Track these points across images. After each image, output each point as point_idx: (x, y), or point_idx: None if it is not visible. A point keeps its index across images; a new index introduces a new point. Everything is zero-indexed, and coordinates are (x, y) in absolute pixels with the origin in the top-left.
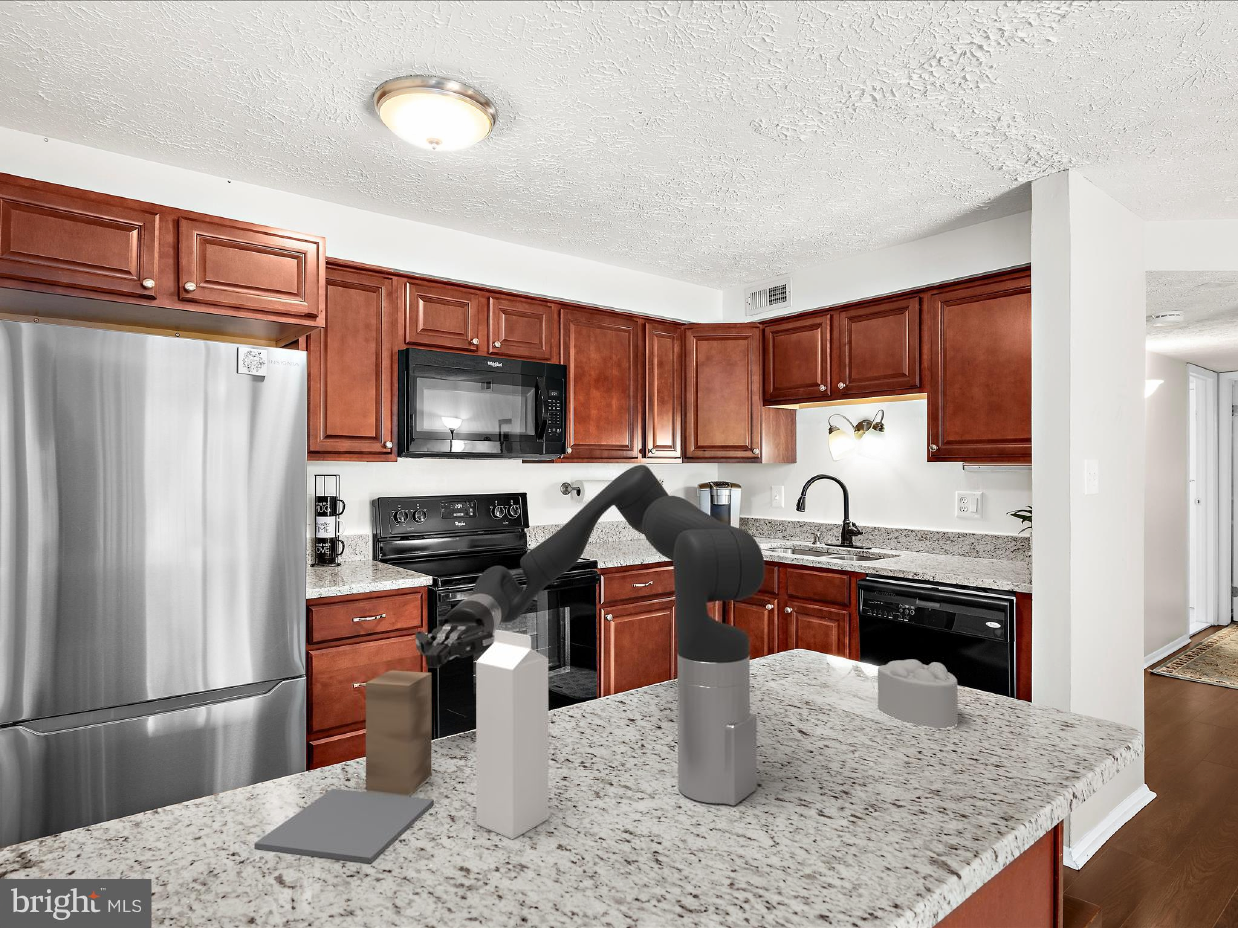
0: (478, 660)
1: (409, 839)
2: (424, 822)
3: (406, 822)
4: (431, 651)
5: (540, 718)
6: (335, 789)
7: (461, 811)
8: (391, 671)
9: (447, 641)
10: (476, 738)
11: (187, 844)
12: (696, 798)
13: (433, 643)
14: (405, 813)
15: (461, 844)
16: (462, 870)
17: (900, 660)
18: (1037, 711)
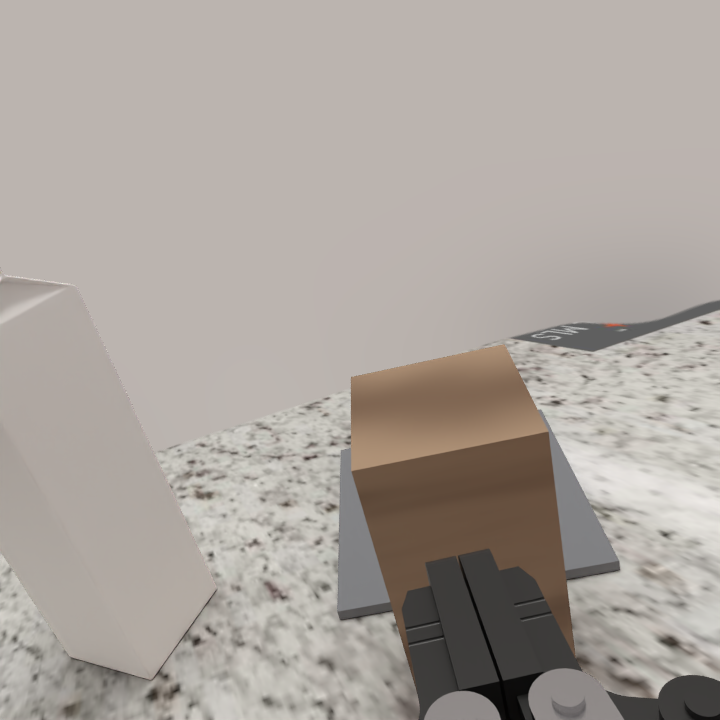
0: (69, 285)
1: (320, 513)
2: (322, 559)
3: (343, 526)
4: (482, 570)
5: None
6: (606, 560)
7: (264, 618)
8: (530, 425)
9: (464, 709)
10: (151, 448)
11: (653, 387)
12: None
13: (590, 679)
14: (364, 546)
15: (227, 534)
16: (206, 492)
17: None
18: None
